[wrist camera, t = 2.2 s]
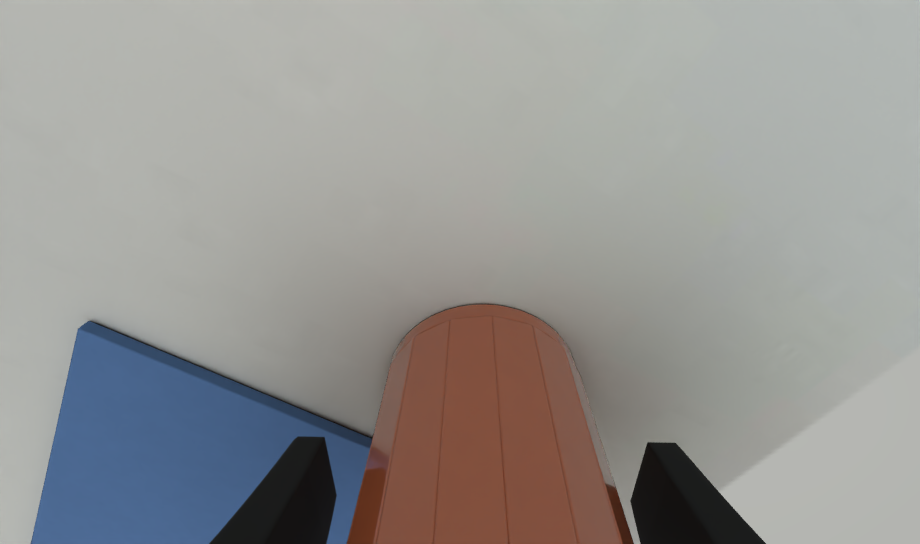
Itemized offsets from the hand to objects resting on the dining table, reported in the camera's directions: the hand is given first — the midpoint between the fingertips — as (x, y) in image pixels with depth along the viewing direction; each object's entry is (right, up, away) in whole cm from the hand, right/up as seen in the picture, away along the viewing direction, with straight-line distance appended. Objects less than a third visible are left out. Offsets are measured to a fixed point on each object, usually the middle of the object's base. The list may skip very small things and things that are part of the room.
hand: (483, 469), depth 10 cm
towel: (-10, -7, +7) cm, 14 cm away
